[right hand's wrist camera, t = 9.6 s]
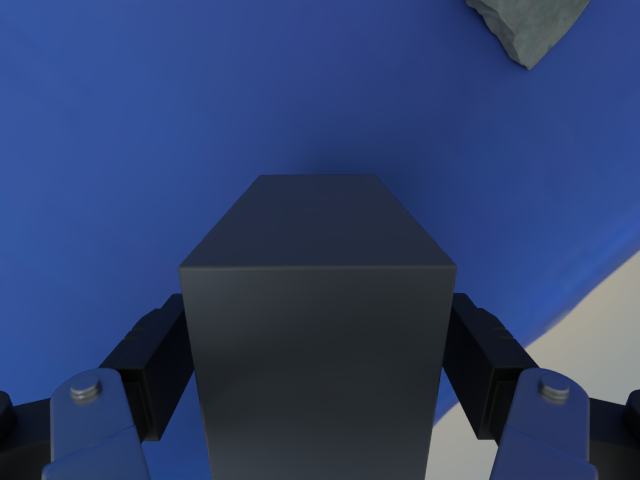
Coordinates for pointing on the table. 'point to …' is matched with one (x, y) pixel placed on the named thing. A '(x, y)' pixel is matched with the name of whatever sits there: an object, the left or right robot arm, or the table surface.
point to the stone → (529, 24)
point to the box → (317, 332)
